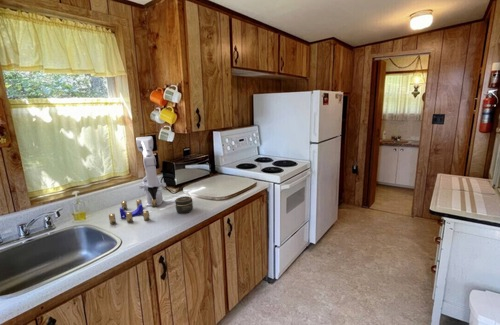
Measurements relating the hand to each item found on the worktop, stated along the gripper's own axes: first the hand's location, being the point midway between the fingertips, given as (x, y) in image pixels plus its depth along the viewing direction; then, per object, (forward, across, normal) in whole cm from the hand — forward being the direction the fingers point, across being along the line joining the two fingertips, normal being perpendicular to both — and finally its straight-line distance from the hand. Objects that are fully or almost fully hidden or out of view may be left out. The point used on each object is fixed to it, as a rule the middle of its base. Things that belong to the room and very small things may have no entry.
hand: (154, 199), depth 154 cm
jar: (+9, +17, -2) cm, 19 cm away
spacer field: (+8, -12, 0) cm, 15 cm away
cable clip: (+9, -14, -1) cm, 16 cm away
